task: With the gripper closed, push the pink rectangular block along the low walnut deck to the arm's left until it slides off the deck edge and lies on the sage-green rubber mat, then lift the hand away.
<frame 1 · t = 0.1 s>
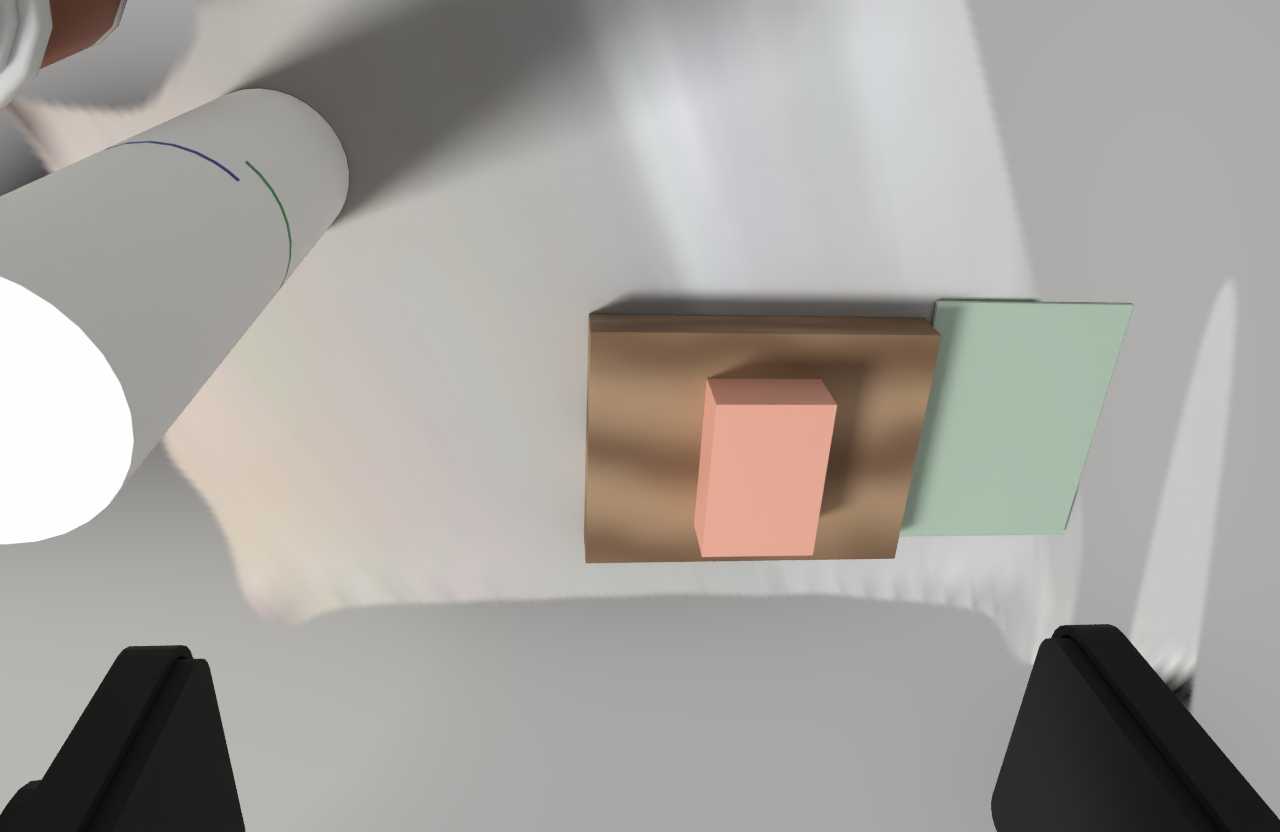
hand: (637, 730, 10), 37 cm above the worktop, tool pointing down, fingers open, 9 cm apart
mat: (1003, 424, 52), on the worktop
pink rectangular block: (760, 468, 47), point 4 cm above the worktop, touching deck
deck: (746, 432, 51), on the worktop
cylindrical container: (271, 168, 42), on the worktop
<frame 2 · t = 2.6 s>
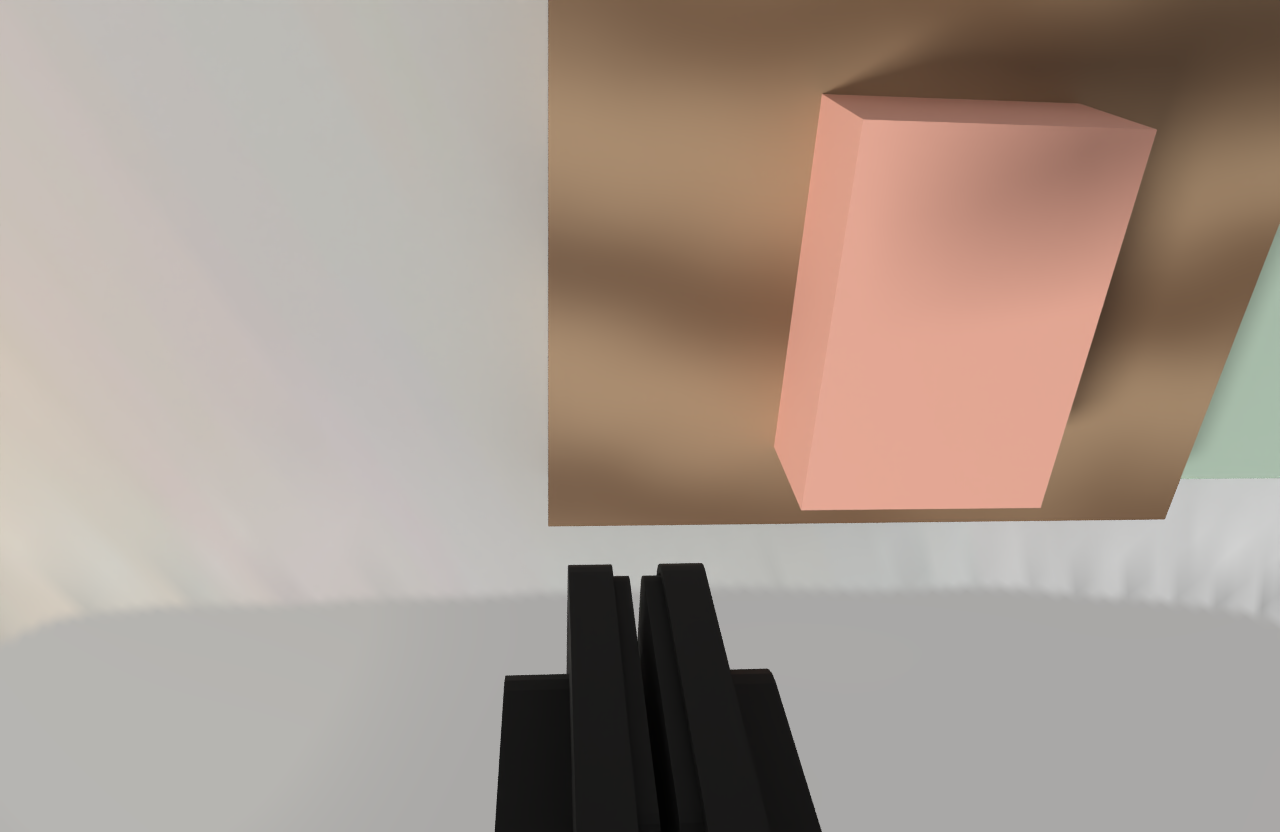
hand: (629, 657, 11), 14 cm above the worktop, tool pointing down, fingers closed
pink rectangular block: (937, 311, 21), point 4 cm above the worktop, touching deck
deck: (881, 256, 25), on the worktop
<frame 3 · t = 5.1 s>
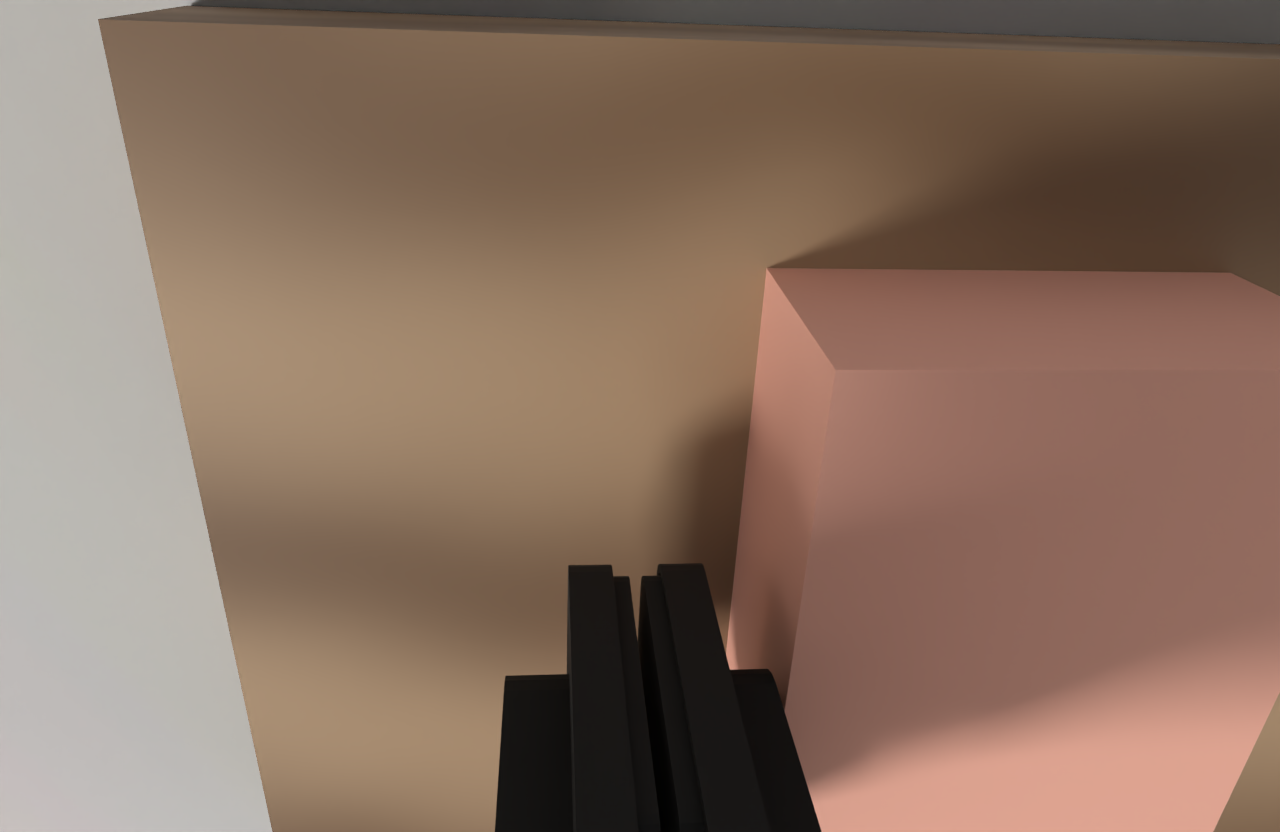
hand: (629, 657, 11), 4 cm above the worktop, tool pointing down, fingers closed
pink rectangular block: (979, 634, 12), point 4 cm above the worktop, touching gripper
deck: (817, 477, 15), on the worktop
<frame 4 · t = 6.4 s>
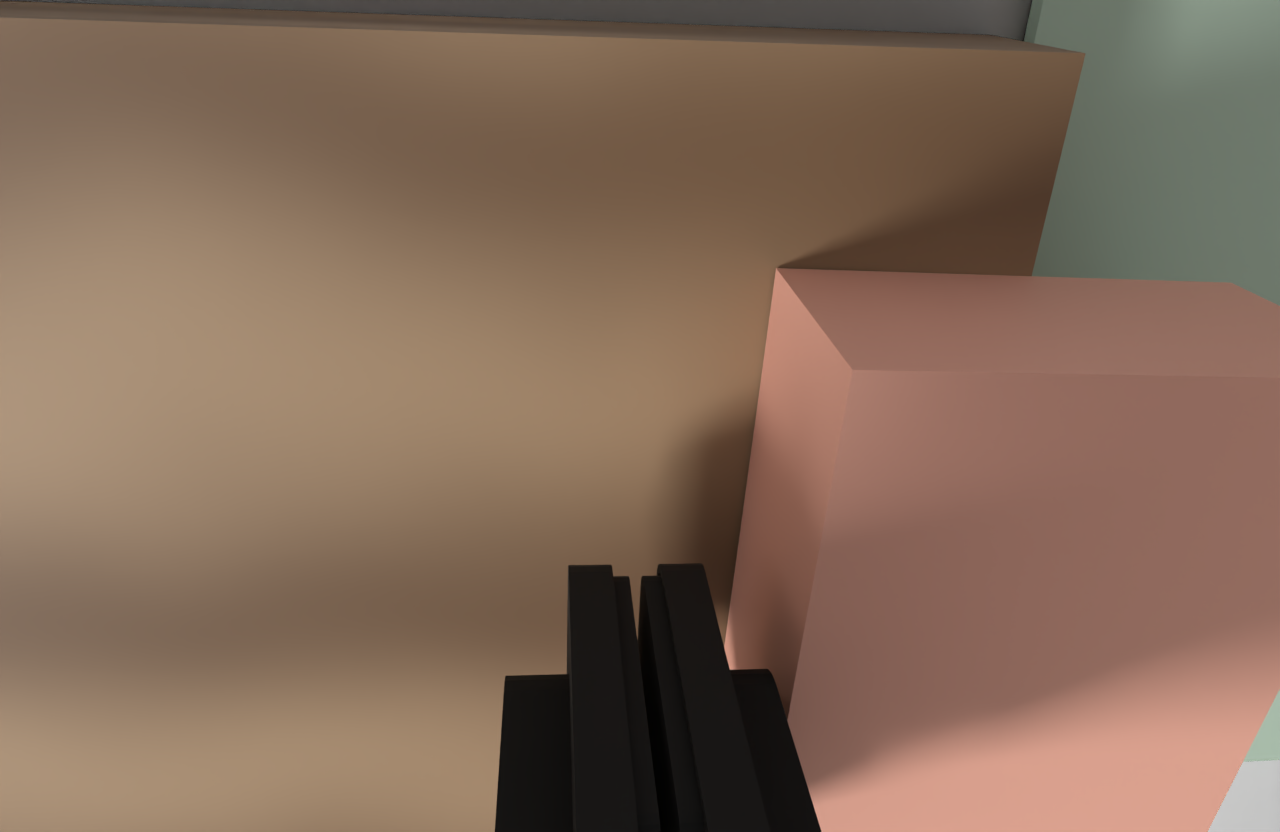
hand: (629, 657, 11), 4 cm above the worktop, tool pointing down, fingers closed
mat: (1239, 447, 16), on the worktop
pink rectangular block: (978, 638, 12), point 4 cm above the worktop, touching deck, gripper
deck: (365, 483, 15), on the worktop
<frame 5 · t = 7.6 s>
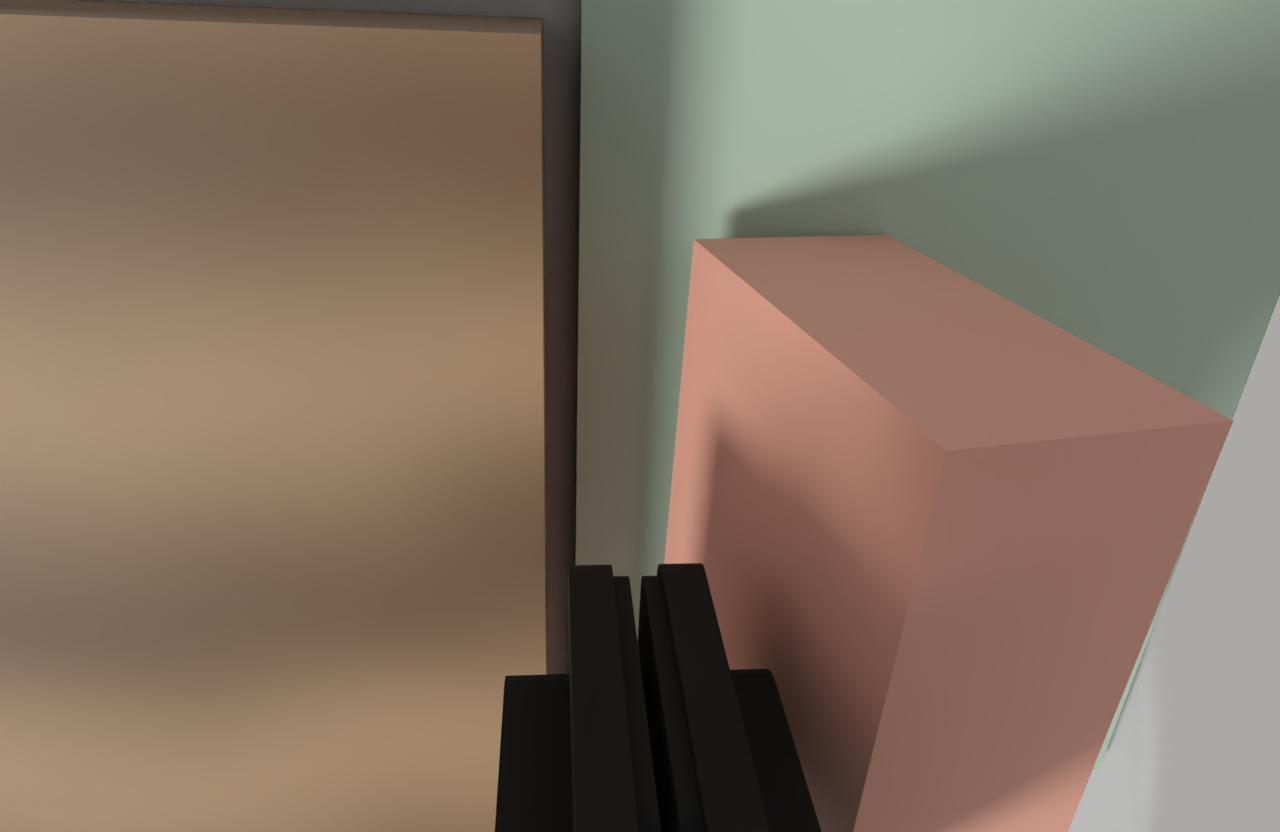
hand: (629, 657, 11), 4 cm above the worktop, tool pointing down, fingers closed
mat: (902, 451, 15), on the worktop
pink rectangular block: (843, 623, 12), point 4 cm above the worktop, tilted 102°, touching mat
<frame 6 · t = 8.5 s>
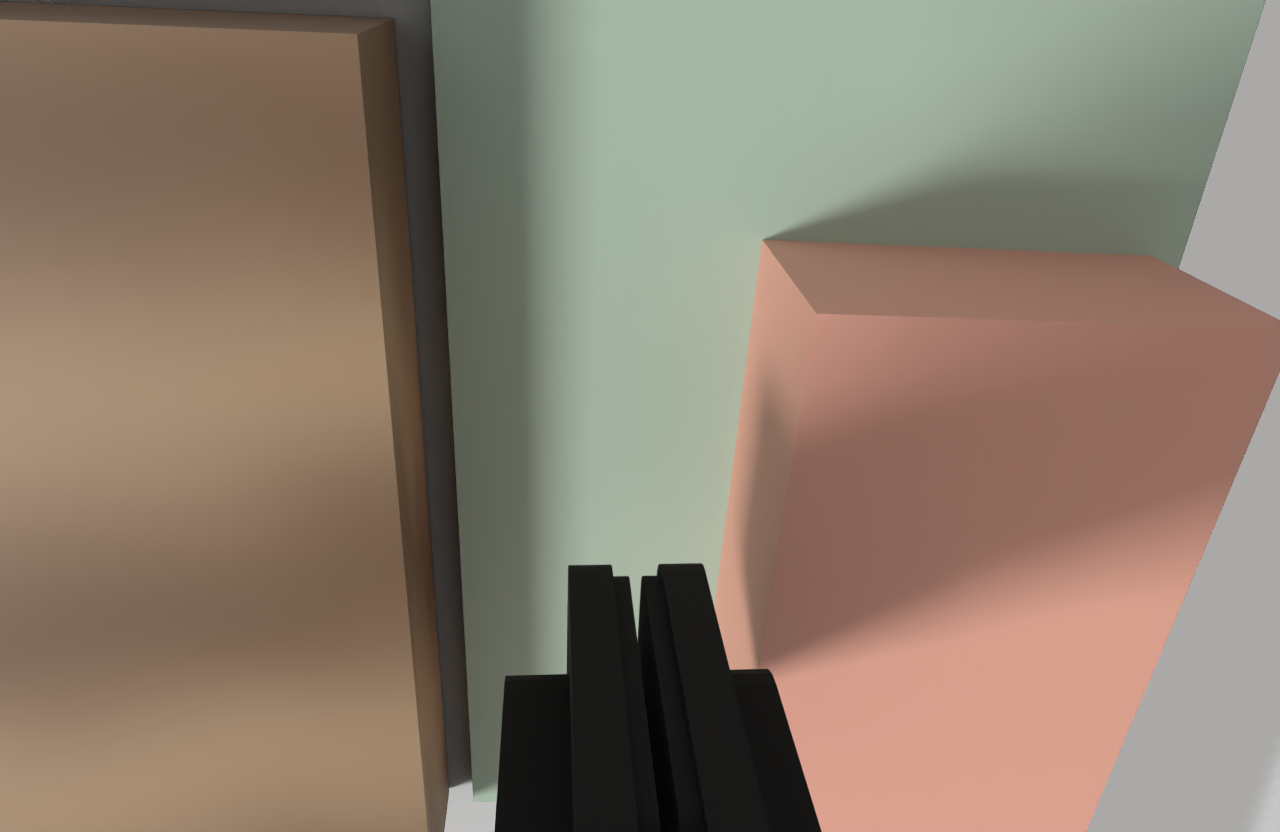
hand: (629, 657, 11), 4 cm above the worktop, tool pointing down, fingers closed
mat: (792, 459, 15), on the worktop
pink rectangular block: (935, 559, 14), point 2 cm above the worktop, tilted 180°, touching mat
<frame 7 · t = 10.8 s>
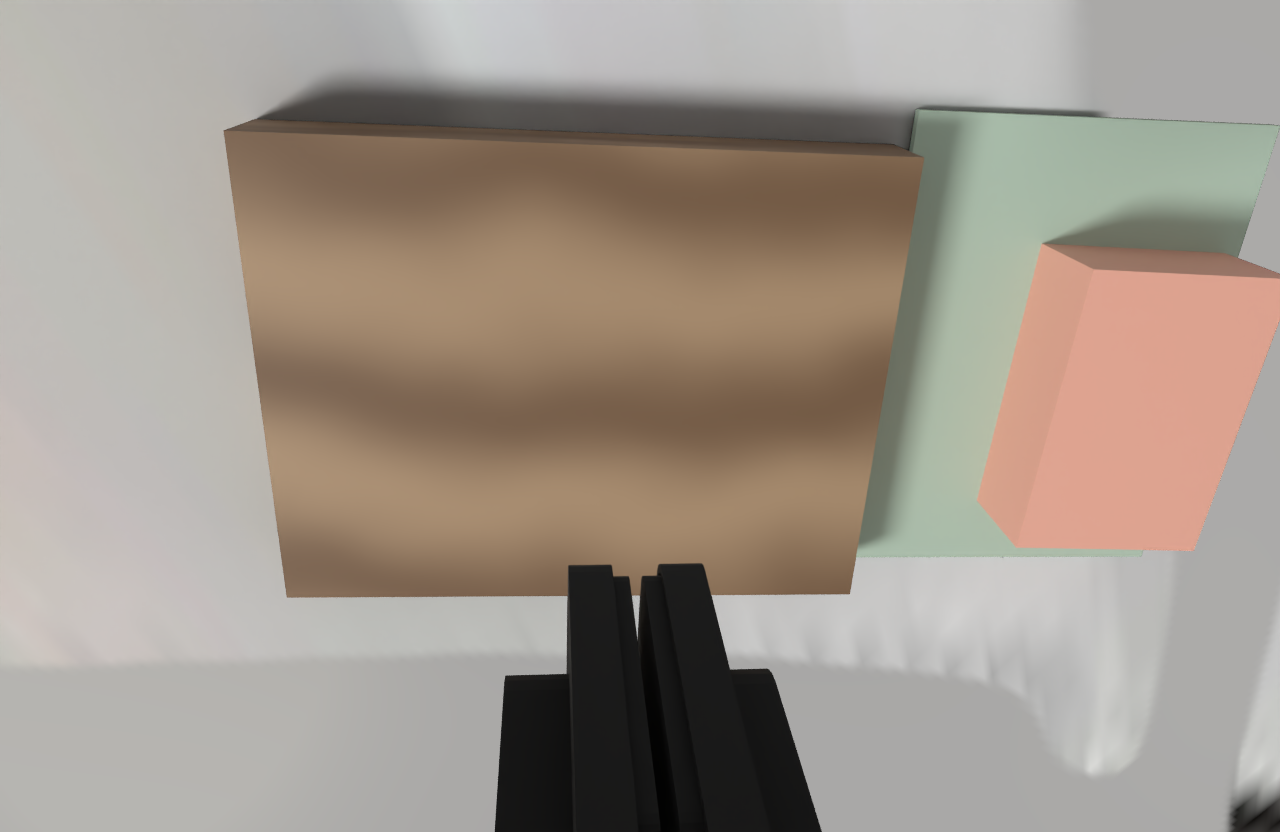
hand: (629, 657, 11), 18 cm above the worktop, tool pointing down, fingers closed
mat: (1039, 357, 30), on the worktop
pink rectangular block: (1119, 401, 28), point 2 cm above the worktop, tilted 180°, touching mat
deck: (579, 363, 28), on the worktop
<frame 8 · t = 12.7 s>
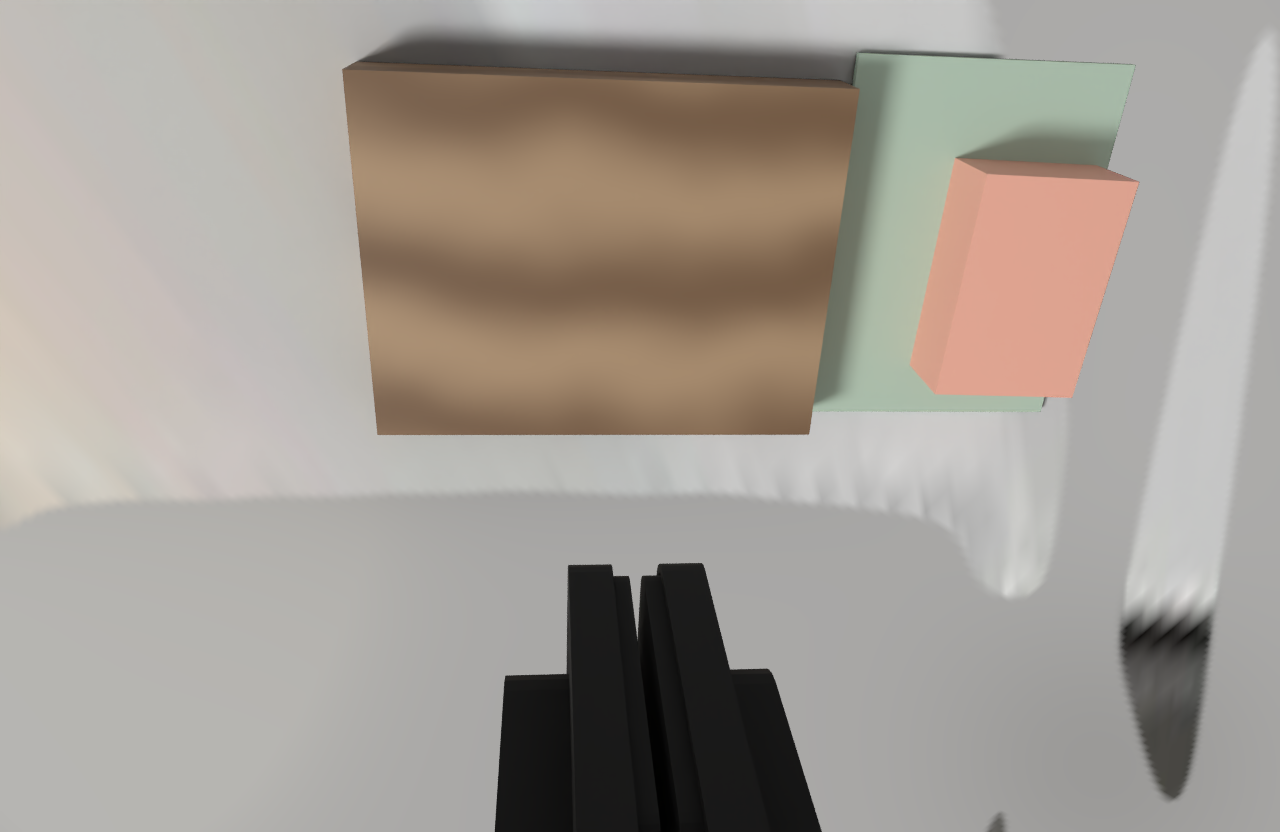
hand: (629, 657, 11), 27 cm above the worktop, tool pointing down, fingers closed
mat: (956, 249, 38), on the worktop
pink rectangular block: (1015, 280, 37), point 2 cm above the worktop, tilted 180°, touching mat
deck: (599, 253, 37), on the worktop
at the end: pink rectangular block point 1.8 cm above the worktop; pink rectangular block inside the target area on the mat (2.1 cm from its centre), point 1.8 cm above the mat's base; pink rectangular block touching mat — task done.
